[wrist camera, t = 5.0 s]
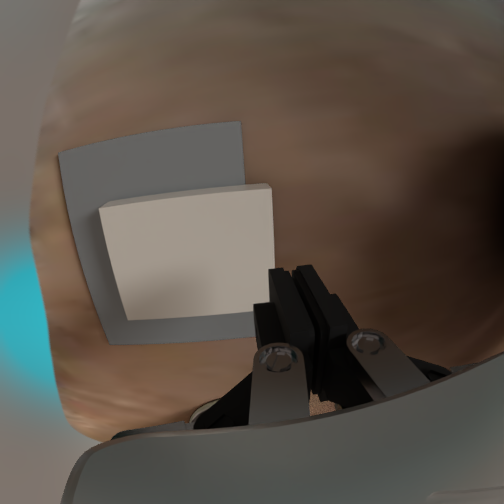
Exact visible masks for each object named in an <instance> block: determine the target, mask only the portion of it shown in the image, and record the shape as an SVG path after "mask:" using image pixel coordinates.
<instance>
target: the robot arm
mask: <svg viewBox="0 0 504 504" xmlns="http://www.w3.org/2000/svg"><path fill="white" fill-rule="evenodd" d="M268 280H269V302H265V303H256V304H253V314H254V326H255V335H256V342H257V348H258V351H257V352H256V353H255V356H254V359H253V371H252V372H251V373H250V374H249V375H248V376H247V377H245V378H244V379H243V380H242V381H241V382H240V383H238V384H237V385H236V386H235V387H234V388H233V389H231V390H230V391H229V392H228V393H227V394H226V395H224V396H223V397H222V398H221V399H220V400H218V401H217V402H216V403H215V404H213V405H212V406H211V407H210V408H209V409H207V410H206V411H205V412H204V413H202V414H201V415H200V416H199V417H198V418H197V419H196V421H195V422H191V423H187V424H185V422H184V421H180V422H175V423H169V424H164V425H158V426H153V427H146V428H140V429H133V430H126V431H122V432H119V433H117V434H116V435H114V436H113V437H112V439H111V440H110V441H106V442H104V443H101V444H98V445H96V446H94V447H92V448H91V449H89V450H87V451H86V452H85V453H84V454H83V455H82V456H81V457H80V458H79V459H78V460H77V462H76V463H75V465H74V467H73V469H72V471H71V473H70V476H69V478H68V481H67V483H66V486H65V489H64V493H63V496H62V500H61V504H504V351H503V352H501V353H499V354H496V355H494V356H491V357H489V358H487V359H485V360H483V361H481V362H478V363H473V364H468V365H462V366H456V367H450V368H449V370H447V369H446V368H444V367H441V366H438V365H435V364H432V363H428V362H425V361H422V360H418V359H415V358H412V357H409V356H406V355H405V354H404V353H403V352H402V351H401V350H400V349H399V348H398V347H397V346H396V345H395V344H394V343H393V342H392V341H391V340H390V339H389V337H388V336H386V335H385V334H384V333H382V332H380V331H378V330H374V329H359V328H358V327H357V325H356V324H355V322H354V320H353V319H352V317H351V316H350V314H349V313H348V311H347V309H346V308H345V306H344V305H343V303H342V302H341V300H340V299H339V297H338V296H337V295H336V294H330V293H329V292H328V290H327V289H326V287H325V285H324V284H323V282H322V281H321V279H320V277H319V276H318V274H317V273H316V271H315V269H314V268H313V266H312V265H303V266H297V268H296V270H292V277H291V275H290V273H289V271H284V269H283V268H274V269H268ZM311 391H312V393H313V394H318V396H319V399H320V402H323V401H328V400H329V401H331V402H334V403H335V410H336V411H333V412H328V413H324V414H319V415H314V416H310V411H309V400H310V392H311Z"/></svg>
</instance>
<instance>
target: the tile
mask: <svg viewBox="0 0 504 504" xmlns="http://www.w3.org/2000/svg"><path fill="white" fill-rule="evenodd" d="M99 213H100V218H101V223H102V227H103V232H104V236H105V241H106V245H107V249H108V253H109V257H110V261H111V265H112V269H113V273H114V276H115V280H116V283H117V287H118V290H119V294H120V297H121V300H122V303H123V307H124V310H125V313H126V316H127V319H128V320H147V319H165V318H180V317H194V316H207V315H218V314H229V313H240V312H250V311H253V304H256V303H265V302H269V280H268V269H274V268H275V259H274V232H273V208H272V188H271V187H270V186H269V185H268V184H267V183H262V184H249V185H236V186H225V187H215V188H205V189H196V190H187V191H178V192H170V193H162V194H155V195H147V196H140V197H134V198H127V199H120V200H114V201H109V202H107V203H106V204H104V205H103V206H102V207H100V208H99Z"/></svg>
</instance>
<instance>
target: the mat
mask: <svg viewBox="0 0 504 504" xmlns="http://www.w3.org/2000/svg"><path fill="white" fill-rule="evenodd" d="M58 155H59V163H60V170H61V176H62V182H63V188H64V194H65V199H66V204H67V209H68V214H69V218H70V223H71V227H72V231H73V235H74V239H75V243H76V247H77V251H78V254H79V258H80V261H81V265H82V268H83V272H84V275H85V278H86V281H87V284H88V288H89V291H90V294H91V297H92V299H93V302H94V305H95V308H96V311H97V313H98V316H99V319H100V322H101V324H102V327H103V329H104V332H105V334H106V337H107V339H108V342H109V344H110V345H134V344H165V343H184V342H199V341H213V340H225V339H235V338H245V337H255V336H256V335H255V326H254V314H253V311H250V312H240V313H229V314H218V315H207V316H194V317H180V318H165V319H147V320H128V319H127V316H126V313H125V310H124V307H123V303H122V300H121V297H120V294H119V290H118V287H117V283H116V280H115V276H114V273H113V269H112V265H111V261H110V257H109V253H108V249H107V245H106V241H105V236H104V232H103V227H102V223H101V218H100V213H99V208H100V207H102V206H103V205H104V204H106V203H107V202H109V201H114V200H120V199H127V198H134V197H140V196H147V195H155V194H162V193H170V192H178V191H187V190H196V189H205V188H215V187H225V186H236V185H245V173H244V159H243V145H242V131H241V121H235V122H223V123H212V124H203V125H194V126H186V127H178V128H171V129H165V130H158V131H152V132H146V133H141V134H135V135H130V136H125V137H120V138H115V139H111V140H106V141H102V142H98V143H93V144H89V145H85V146H81V147H77V148H74V149H70V150H66V151H63V152H59V153H58Z"/></svg>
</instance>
